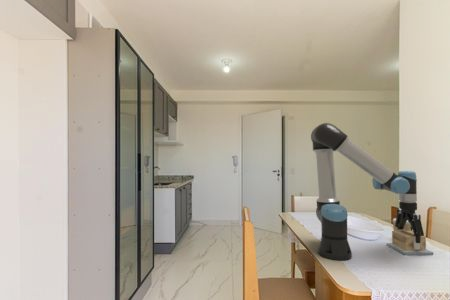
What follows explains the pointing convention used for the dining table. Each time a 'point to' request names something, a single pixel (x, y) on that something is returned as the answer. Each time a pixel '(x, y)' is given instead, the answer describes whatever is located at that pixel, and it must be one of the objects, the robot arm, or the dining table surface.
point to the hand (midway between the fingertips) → (409, 245)
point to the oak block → (407, 240)
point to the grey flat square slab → (409, 251)
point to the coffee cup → (406, 227)
